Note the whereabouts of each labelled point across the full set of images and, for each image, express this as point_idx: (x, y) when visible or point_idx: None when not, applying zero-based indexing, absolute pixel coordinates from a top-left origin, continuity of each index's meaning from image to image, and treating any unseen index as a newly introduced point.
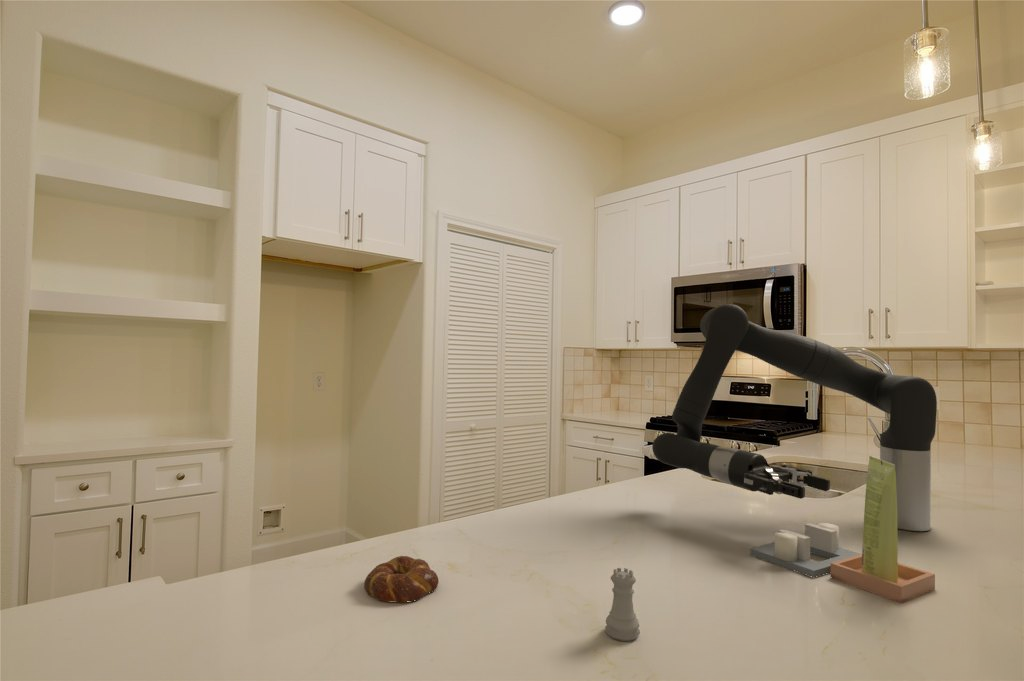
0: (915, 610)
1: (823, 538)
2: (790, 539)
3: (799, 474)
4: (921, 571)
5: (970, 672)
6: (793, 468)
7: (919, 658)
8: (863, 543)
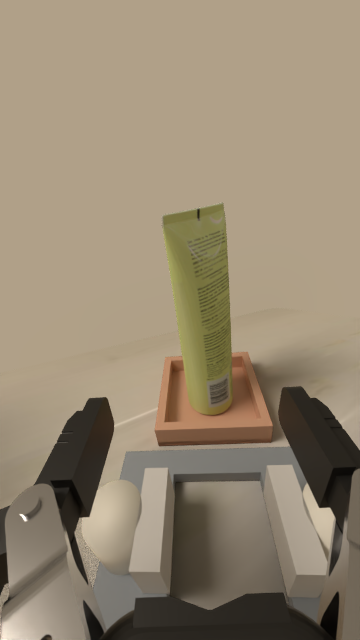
0: (249, 355)
1: (169, 503)
2: None
3: (69, 544)
4: (170, 364)
5: (308, 311)
6: (1, 629)
7: (333, 323)
8: (224, 371)
